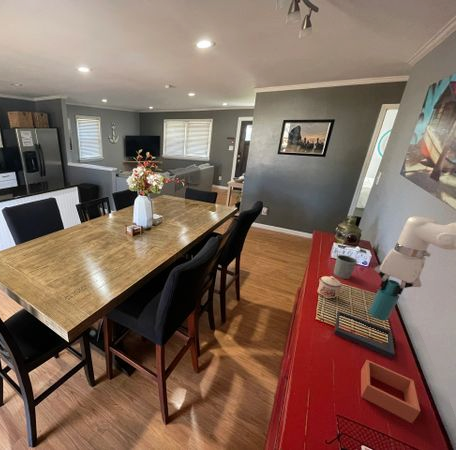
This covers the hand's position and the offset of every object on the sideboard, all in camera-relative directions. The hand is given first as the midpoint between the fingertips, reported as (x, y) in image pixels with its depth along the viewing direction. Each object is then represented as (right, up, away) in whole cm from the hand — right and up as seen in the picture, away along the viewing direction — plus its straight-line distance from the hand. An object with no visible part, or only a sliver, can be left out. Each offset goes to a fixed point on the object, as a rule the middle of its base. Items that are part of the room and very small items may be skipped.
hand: (389, 291), depth 93 cm
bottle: (0, -11, +4) cm, 12 cm away
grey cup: (+27, -6, +60) cm, 66 cm away
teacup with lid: (+6, -14, +40) cm, 43 cm away
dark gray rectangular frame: (+2, -24, +15) cm, 28 cm away
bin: (-12, -33, -10) cm, 37 cm away
